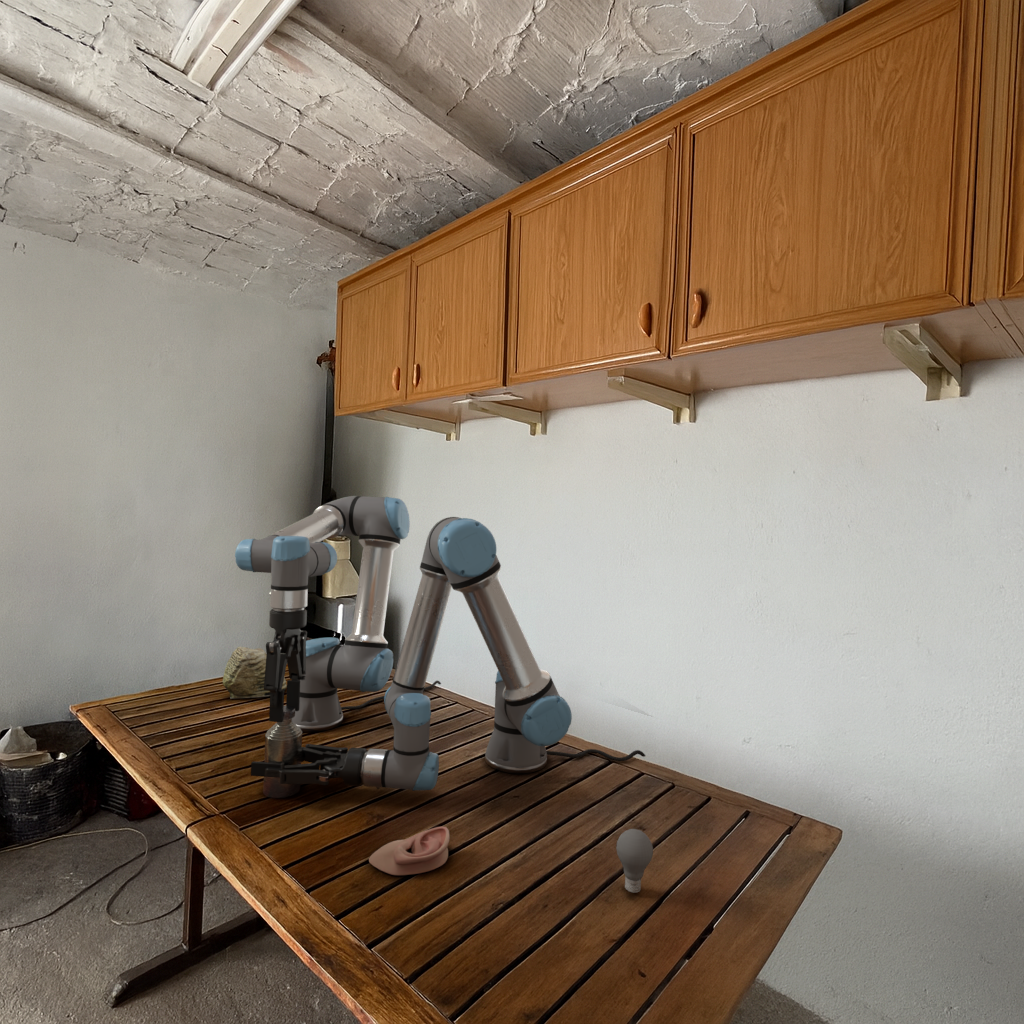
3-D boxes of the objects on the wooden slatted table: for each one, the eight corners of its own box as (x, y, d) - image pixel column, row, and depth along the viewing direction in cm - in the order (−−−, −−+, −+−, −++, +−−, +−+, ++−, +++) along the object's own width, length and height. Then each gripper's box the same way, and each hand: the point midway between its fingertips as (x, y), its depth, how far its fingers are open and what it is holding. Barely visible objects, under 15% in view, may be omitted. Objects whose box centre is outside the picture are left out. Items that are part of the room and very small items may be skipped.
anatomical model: (361, 846, 108) (388, 814, 119) (360, 870, 108) (387, 835, 119) (436, 859, 105) (456, 825, 117) (435, 882, 105) (455, 846, 117)
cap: (295, 712, 138) (295, 704, 138) (294, 719, 134) (295, 711, 134) (274, 713, 137) (274, 705, 137) (273, 720, 133) (273, 712, 133)
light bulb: (610, 879, 108) (613, 822, 108) (644, 879, 109) (647, 822, 109) (619, 902, 102) (622, 840, 102) (655, 901, 103) (658, 840, 103)
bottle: (289, 779, 141) (292, 703, 141) (306, 790, 136) (309, 712, 136) (257, 789, 136) (259, 711, 135) (273, 801, 131) (276, 720, 130)
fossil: (218, 695, 195) (220, 647, 195) (278, 685, 208) (279, 640, 207) (228, 703, 189) (230, 653, 188) (289, 692, 201) (290, 645, 201)
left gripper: (293, 600, 145) (290, 700, 146) (247, 615, 126) (242, 729, 127) (324, 602, 144) (321, 703, 145) (282, 617, 125) (278, 733, 126)
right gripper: (350, 807, 125) (237, 800, 126) (377, 764, 145) (279, 758, 146) (351, 770, 125) (238, 762, 126) (378, 732, 145) (280, 726, 146)
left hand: (284, 715), depth 136 cm, fingers open, 6 cm apart
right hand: (260, 760), depth 136 cm, fingers closed on bottle, 7 cm apart
